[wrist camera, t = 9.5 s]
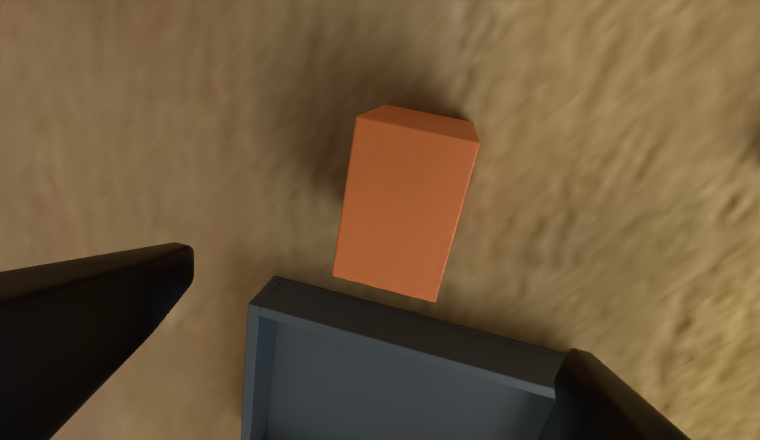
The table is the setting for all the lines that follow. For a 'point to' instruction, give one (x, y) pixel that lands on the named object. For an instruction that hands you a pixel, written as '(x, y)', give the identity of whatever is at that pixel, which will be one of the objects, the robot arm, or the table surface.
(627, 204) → the table surface
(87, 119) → the table surface
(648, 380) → the table surface
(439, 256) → the block
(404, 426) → the grey tray
